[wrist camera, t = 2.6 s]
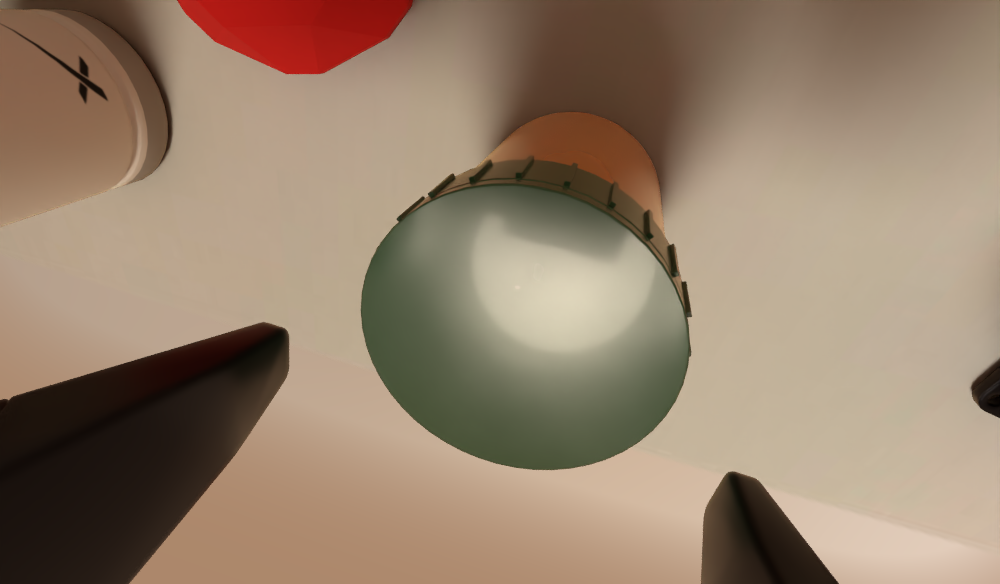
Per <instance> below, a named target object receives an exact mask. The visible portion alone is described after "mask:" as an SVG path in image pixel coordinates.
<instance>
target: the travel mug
mask: <svg viewBox="0 0 1000 584" xmlns="http://www.w3.org/2000/svg"><path fill="white" fill-rule="evenodd" d="M167 140H168V122H167V116H166V111H165V106H164V103H163V100H162V97H161V94H160V91H159V89H158V87H157V85H156V83H155V81H154V79H153V77H152V75H151V73H150V71H149V70H148V68H147V67H146V65H145V64H144V62H143V61H142V59H141V58H140V56H139V55H138V54H137V53H136V52H135V50H134V49H133V48H132V47H131V46H130V45H129V44H128V43H127V41H125V40H124V39H123V38H122V37H121V36H120V35H118V34H117V33H116V32H115V31H114V30H113V29H111V28H110V27H108V26H107V25H105V24H103V23H102V22H100V21H99V20H97V19H95V18H93V17H91V16H88V15H86V14H83V13H81V12H78V11H71V10H65V9H29V10H18V9H0V227H2V226H5V225H8V224H11V223H14V222H17V221H20V220H23V219H26V218H29V217H32V216H35V215H38V214H40V213H43V212H46V211H49V210H52V209H55V208H58V207H61V206H64V205H67V204H70V203H73V202H76V201H79V200H82V199H85V198H88V197H91V196H94V195H97V194H100V193H103V192H106V191H108V190H111V189H114V188H118V187H121V186H124V185H127V184H130V183H133V182H136V181H139V180H142V179H144V178H145V177H147V176H148V175H150V174H152V173H153V171H154V170H155V169H156V168H157V167H158V166H159V164H160V162H161V160H162V158H163V155H164V153H165V150H166V145H167Z"/></svg>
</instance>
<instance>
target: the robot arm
mask: <svg viewBox="0 0 1000 584" xmlns="http://www.w3.org/2000/svg"><path fill="white" fill-rule="evenodd" d="M288 371H289V334H288V331H287V330H286V329H285V328H282V327H279V326H276V325H273V324H270V323H265V322H262V323H258V324H255V325H251V326H248V327H245V328H241V329H238V330H235V331H231V332H228V333H225V334H221V335H218V336H215V337H211V338H208V339H205V340H201V341H198V342H194V343H191V344H188V345H184V346H182V347H178V348H174V349H171V350H168V351H164V352H161V353H158V354H154V355H151V356H147V357H144V358H141V359H137V360H134V361H131V362H127V363H124V364H121V365H118V366H114V367H111V368H107V369H104V370H100V371H97V372H94V373H90V374H87V375H84V376H81V377H77V378H73V379H70V380H67V381H63V382H60V383H57V384H54V385H50V386H47V387H43V388H40V389H36V390H33V391H30V392H26V393H23V394H20V395H16V396H13V397H12V398H11V399H10V400H7V399H3V400H0V584H129V583H130V582H131V581H132V580H133V578H134V577H135V576H136V575H137V573H138V572H139V571H140V570H141V569H142V567H143V566H144V565H145V564H146V562H147V561H148V560H149V559H150V558H151V557H152V555H153V554H154V553H155V552H156V550H157V549H158V548H159V547H160V546H161V544H162V543H163V542H164V541H165V540H166V538H167V537H168V536H169V535H170V533H171V532H172V531H173V530H174V529H175V527H176V526H177V525H178V524H179V523H180V521H181V520H182V519H183V518H184V517H185V515H186V514H187V513H188V512H189V510H190V509H191V508H192V507H193V506H194V504H195V503H196V502H197V501H198V500H199V498H200V497H201V496H202V495H203V494H204V492H205V491H206V490H207V489H208V488H209V486H210V485H211V484H212V483H213V481H214V480H215V479H216V478H217V477H218V475H219V474H220V473H221V472H222V471H223V469H224V468H225V467H226V466H227V464H228V463H229V462H230V461H231V459H232V458H233V457H234V456H235V454H236V453H237V451H238V450H239V448H240V447H241V446H242V444H243V443H244V441H245V440H246V438H247V437H248V435H249V434H250V432H251V431H252V429H253V428H254V426H255V425H256V423H257V422H258V420H259V419H260V417H261V416H262V414H263V413H264V411H265V409H266V408H267V407H268V405H269V403H270V402H271V401H272V399H273V398H274V396H275V395H276V393H277V392H278V390H279V389H280V387H281V385H282V384H283V382H284V381H285V379H286V377H287V374H288ZM997 394H999V395H998V397H996V398H994V399H989V398H990V397H991V396H993V395H997ZM972 397H973V399H974V401H975V402H976V403H977V404H978V406H979V407H980V408H981V409H983V410H984V411H986V412H988V413H990V414H992V415H994V416H997V417H999V418H1000V367H999V368H998V369H996V370H995V371H994V372H993V373H992V374H991V375H989V376H988V377H987V378H986V379H985V380H984V381H982V382H981V383H980V384H979V385H978V386H977V387H976V388H975V389H974V390H973V393H972ZM701 584H839V583H838V582H837V581H836V579H835V578H834V577H833V576H832V575H831V573H830V572H829V570H828V569H827V568H826V567H825V565H824V564H823V563H822V561H821V560H820V559H819V558H818V556H817V555H816V554H815V553H814V551H813V550H812V548H811V547H810V546H809V545H808V543H807V542H806V541H805V539H804V538H803V537H802V536H801V535H800V533H799V532H798V531H797V529H796V528H795V527H794V525H793V524H792V523H791V522H790V520H789V519H788V517H787V516H786V515H785V514H784V512H783V511H782V510H781V508H780V507H779V506H778V505H777V503H776V502H775V501H774V500H773V498H772V497H771V496H770V495H769V493H768V492H767V490H766V489H765V488H764V487H763V485H762V484H761V483H760V482H759V481H758V480H757V479H755V478H753V477H750V476H747V475H744V474H740V473H737V472H733V471H732V472H728V473H727V474H726V475H725V476H724V478H723V479H722V481H721V483H720V484H719V486H718V488H717V489H716V491H715V493H714V494H713V496H712V498H711V499H710V501H709V503H708V505H707V507H706V510H705V514H704V522H703V547H702V572H701Z"/></svg>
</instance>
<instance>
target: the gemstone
mask: <svg viewBox="0 0 1000 584" xmlns="http://www.w3.org/2000/svg"><path fill="white" fill-rule="evenodd" d="M177 1H178V3H179V4H180V6H181V7H182V9H183V10H184V12H185V13H186V14H187V15H188V16H189V17H190V18H191V19H192V20H193V21H194V22H195V23H196V24H197V25H198V26H199V27H200V28H201V29H202V30H203V31H204V32H205V33H206V34H207V35H208V36H210V37H211V38H212V39H213V40H214V41H215V42H217V43H219V44H221V45H224V46H226V47H228V48H230V49H232V50H235V51H237V52H239V53H241V54H243V55H246V56H248V57H250V58H252V59H255V60H257V61H259V62H261V63H263V64H266V65H268V66H270V67H272V68H274V69H277V70H279V71H281V72H283V73H285V74H321V73H325V72H327V71H329V70H330V69H332V68H334V67H336V66H338V65H340V64H341V63H343V62H345V61H347V60H349V59H351V58H352V57H354V56H356V55H358V54H360V53H362V52H363V51H365V50H367V49H369V48H371V47H373V46H375V45H376V44H378V43H380V42H382V41H384V40H386V39H387V38H389V37H390V36H391V34H392V33H393V31H394V30H395V29H396V27H397V26H398V24H399V23H400V22H401V20H402V19H403V17H404V16H405V15H406V13H407V12H408V10H409V9H410V8H411V6H412V3H413V0H177Z"/></svg>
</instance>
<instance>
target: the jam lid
mask: <svg viewBox="0 0 1000 584" xmlns="http://www.w3.org/2000/svg"><path fill="white" fill-rule="evenodd" d="M577 167H578V164H577V163H573V164H572V166H570V165H566V164H562V163H557V162H553V161H544V160H534V156H530V155H529V156H528V157H527V159H521V160H506V161H500V162H494V163H492V161H491V159H489V160H486V161H485V162H484V163H483V164H482V165H481V166H479V167H476V168H473V169H470V170H468V171H466V172H464V173H462V174H459V175H457V176H454V174H451V175H449V176H448V177H447V178H446V179H444V180H443V181H442V182H441V183H440V184H439V185H437V186H436V187H435V188H434V189H433V190H432V191H430V192H429V193H428V195H429V196H428V197H427V198H426V199H425V198H424V197H423V196H422V197H421V198H420V199H419V200H418V201H416V202H415V203H414V204H413V205H412V206H411V207H409V208H408V209H407V210H406V211H405V212H403V213H402V214H401V215H400V216H399V217H398V218H397V220H398V221H399V222H398V223H397V224H396V225H395V226H394V227H393V228H392V229H391V230H390V232H389V233H388V234H387V235H386V237H385V238H384V239H383V240H382V242H381V243H380V245H379V246H378V247H377V249H376V252H375V254H374V256H373V257H372V259H371V262H370V265H369V267H368V270H367V273H366V276H365V280H364V285H363V290H362V300H361V318H362V329H363V333H364V338H365V342H366V346H367V349H368V352H369V354H370V357H371V360H372V363H373V364H374V366H375V368H376V370H377V372H378V374H379V376H380V378H381V379H382V381H383V383H384V384H385V386H386V387H387V389H388V390H389V392H390V393H391V395H392V396H393V397H394V398H395V399H396V401H397V402H398V403H399V404H400V405H401V407H402V408H403V409H404V410H405V411H406V412H407V413H408V414H409V415H410V416H411V417H412V418H413V419H414V420H416V421H417V422H418V423H419V424H420V425H422V426H423V427H424V428H425V429H427V430H428V431H429V432H431V433H432V434H434V435H435V436H437V437H438V438H440V439H441V440H443V441H444V442H446V443H448V444H450V445H452V446H454V447H455V448H457V449H460V450H461V451H463V452H466V453H468V454H470V455H473V456H475V457H478V458H481V459H484V460H487V461H490V462H493V463H496V464H501V465H506V466H510V467H516V468H523V469H532V470H558V469H569V468H575V467H580V466H586V465H590V464H593V463H596V462H600V461H603V460H606V459H608V458H611V457H613V456H615V455H617V454H619V453H622V452H623V451H625V450H627V449H628V448H630V447H632V446H633V445H635V444H637V443H638V442H640V441H641V440H642V439H643V438H644V437H646V436H647V435H648V434H649V433H650V432H652V431H653V430H654V429H655V428H656V426H657V425H658V424H659V423H660V422H661V421H662V420H663V419H664V418H665V416H666V415H667V413H668V412H669V410H670V409H671V407H672V406H673V404H674V403H675V401H676V399H677V397H678V395H679V392H680V390H681V388H682V386H683V383H684V379H685V375H686V372H687V368H688V362H689V357H690V356H691V347H690V338H689V325H688V319H687V317H692V314H691V308H690V302H689V296H688V290H687V284H686V282H682V280H681V276H680V272H679V267H678V261H677V254H676V247H675V245H674V244H672V245H669V243H668V241H667V239H666V238H665V236H664V234H663V233H662V231H661V229H660V228H659V227H658V225H657V224H656V223H655V222H654V220H653V213H652V211H651V210H650V209H648V210H647V211H645V210H644V209H643V208H642V207H641V206H640V205H639V204H638V203H637V202H636V201H635V200H634V199H633V198H632V197H630V196H629V195H627V194H626V193H625V192H623V191H622V190H621V189H619V183H617V182H616V181H614V182H613V184H612V183H610V182H608V181H606V180H604V179H602V178H601V177H599V176H597V175H595V174H592V173H590V172H587V171H585V170H582V169H579V168H577Z"/></svg>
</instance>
